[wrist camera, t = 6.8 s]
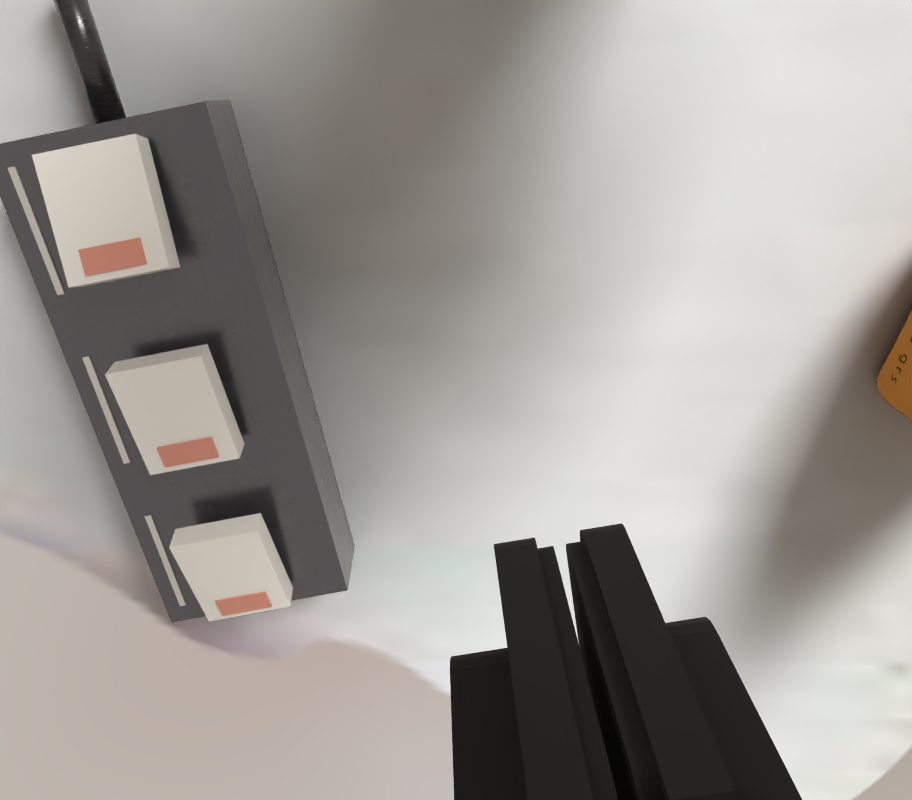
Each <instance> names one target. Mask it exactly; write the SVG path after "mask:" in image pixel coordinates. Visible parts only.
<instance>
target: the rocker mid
mask: <svg viewBox="0 0 912 800" xmlns="http://www.w3.org/2000/svg"><path fill="white" fill-rule="evenodd" d="M105 376H106V378H107V380H108V383H109V385H110V387H111V389H112V391H113V394H114V396H115V398H116V400H117V403H118V405H119V407H120V409H121V411H122V414H123V416H124V418H125V420H126V423H127V425H128V427H129V429H130V431H131V434H132V436H133V438H134V440H135V442H136V445H137V447H138V449H139V451H140V454H141V456H142V458H143V460H144V462H145V465H146V467H147V469H148V471H149V474H150V475H154V474H160V473H165V472H170V471H175V470H181V469H186V468H191V467H197V466H202V465H207V464H213V463H218V462H223V461H228V460H234V459H239V458H240V456H241V453H242V450H243V447H244V441H243V438H242V436H241V433H240V430H239V428H238V425H237V422H236V420H235V417H234V414H233V412H232V409H231V406H230V403H229V401H228V398H227V395H226V393H225V390H224V387H223V385H222V382H221V379H220V376H219V374H218V371H217V368H216V366H215V363H214V360H213V358H212V355H211V352H210V350H209V347H208V344H204V345H199V346H194V347H189V348H184V349H178V350H173V351H168V352H163V353H158V354H153V355H148V356H142V357H137V358H132V359H127V360H122V361H117V362H114V363H113V365H112V366H111V367H110V369H109V370H108V371H107V373H106V374H105Z"/></svg>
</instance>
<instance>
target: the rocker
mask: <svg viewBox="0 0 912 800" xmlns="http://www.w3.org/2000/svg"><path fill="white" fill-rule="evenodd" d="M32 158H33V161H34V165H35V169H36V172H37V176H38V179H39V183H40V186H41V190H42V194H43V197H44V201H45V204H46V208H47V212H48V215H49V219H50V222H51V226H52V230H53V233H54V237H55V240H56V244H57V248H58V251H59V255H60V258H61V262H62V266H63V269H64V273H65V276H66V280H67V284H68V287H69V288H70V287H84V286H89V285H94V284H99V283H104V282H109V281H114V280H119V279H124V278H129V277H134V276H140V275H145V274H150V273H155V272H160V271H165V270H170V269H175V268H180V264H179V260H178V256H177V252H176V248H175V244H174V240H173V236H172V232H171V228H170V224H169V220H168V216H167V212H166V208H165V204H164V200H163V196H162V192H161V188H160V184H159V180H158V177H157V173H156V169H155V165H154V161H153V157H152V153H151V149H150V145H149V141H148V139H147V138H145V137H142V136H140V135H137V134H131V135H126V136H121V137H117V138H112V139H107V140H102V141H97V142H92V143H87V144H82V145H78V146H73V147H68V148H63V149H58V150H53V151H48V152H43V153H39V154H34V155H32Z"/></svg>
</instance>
